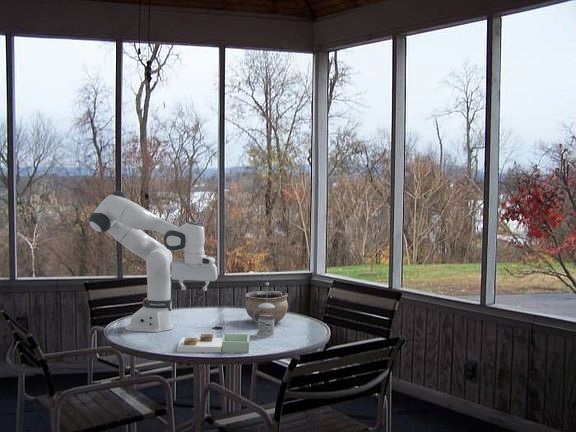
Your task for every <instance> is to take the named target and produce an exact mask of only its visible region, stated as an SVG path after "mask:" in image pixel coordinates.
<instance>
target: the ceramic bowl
mask: <svg viewBox="0 0 576 432" xmlns="http://www.w3.org/2000/svg"><path fill="white" fill-rule="evenodd" d="M288 295H289V293H284V294H283V293H282V291H279V290H258V291H255V290H254V291H249V292H247V293H245V298H246V301H245V310H246V311H245V312H246V313H247V315H248V316H249V317H250V318H251V319H252V321H253V320H254V321H253V322H255V323H257V322H258V318H259V317H260V316H259V314H263V313H265V314H266V309H262V308H259V307H258V306H259V305H260V304H263V303H270V304H273V305H274V306H275V308H273V309H267V314H268V313H269V314H273V315H274V316H273V318H274V324H278V323H279V322H280V321H281V320H283V319H284V317H285V316H286V315H287V312H288V309H289V304H288ZM258 308H259V309H260V311H259V312H258V310H259V309H258ZM256 309H257V310H256ZM255 310H256V311H255ZM253 312H255V314H254V313H253ZM254 317H255V319H254ZM255 320H256V321H255ZM264 320H270V319H264Z"/></svg>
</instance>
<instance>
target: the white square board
mask: <svg viewBox="0 0 576 432" xmlns="http://www.w3.org/2000/svg"><path fill="white" fill-rule="evenodd" d="M185 338H197V344H196V345H184V340H185ZM222 341H224V337H213V340H212V341H200V337H196V336H194V337H192V336H191V337H190V336H189V337H188V336H187V337H186V336H185V337H184V336H182V338H181V339H180V341H179V343H178V345H177V347H176V348H177V350H176V351H177V353H201V352H205V353H207V352H221V353H222Z"/></svg>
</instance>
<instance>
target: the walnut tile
mask: <svg viewBox="0 0 576 432" xmlns="http://www.w3.org/2000/svg"><path fill="white" fill-rule="evenodd" d="M213 338H214V334H211V333H201V334H200V341H212V340H213Z"/></svg>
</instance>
